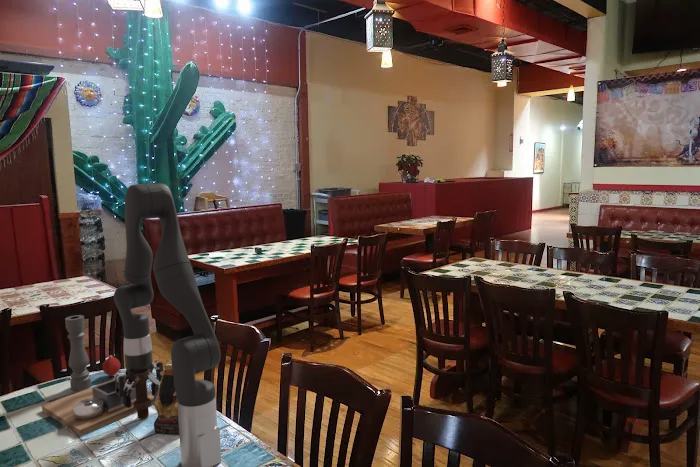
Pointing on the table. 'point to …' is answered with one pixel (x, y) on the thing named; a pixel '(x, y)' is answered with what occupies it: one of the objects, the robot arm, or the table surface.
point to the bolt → (142, 395)
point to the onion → (111, 366)
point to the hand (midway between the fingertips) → (142, 401)
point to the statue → (166, 403)
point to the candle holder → (78, 354)
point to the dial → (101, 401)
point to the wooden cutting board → (65, 415)
